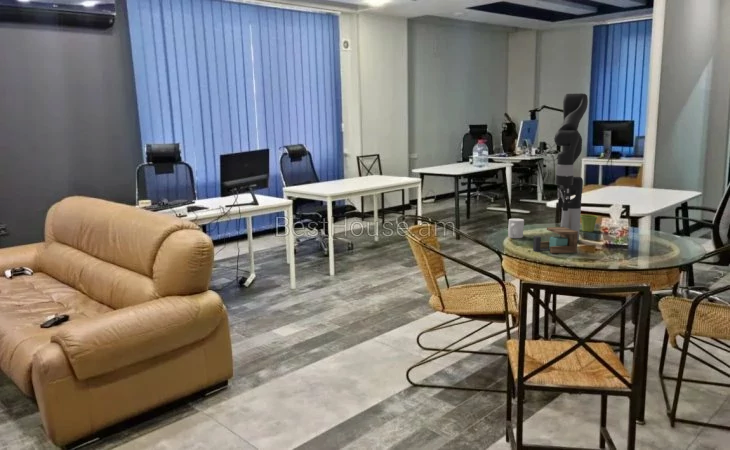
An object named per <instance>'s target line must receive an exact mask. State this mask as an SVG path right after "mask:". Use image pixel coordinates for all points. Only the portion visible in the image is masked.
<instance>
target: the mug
mask: <svg viewBox="0 0 730 450" xmlns="http://www.w3.org/2000/svg"><path fill="white" fill-rule="evenodd" d="M507 227H508V228H507V229H508V230H507V237H508V238H511V239H522V238H523V237H524V227H525V219H523V218H509V219H508V225H507Z"/></svg>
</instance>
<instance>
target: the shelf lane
mask: <svg viewBox="0 0 730 450" xmlns="http://www.w3.org/2000/svg"><path fill="white" fill-rule="evenodd" d="M546 231H549V232H552V233H554V234H557V235H559V236H562V237H564V238H567V239H568V244H567V246H550V250H549V253H550V254H566V253H577V252H578V241H577V237H578V231H575V230H572V229H569V228H566V227H560V226H553V227H550V226H549V227H546ZM549 243H550V240H547V241H541V246H540V249H549Z"/></svg>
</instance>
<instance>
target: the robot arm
mask: <svg viewBox="0 0 730 450" xmlns="http://www.w3.org/2000/svg"><path fill="white" fill-rule="evenodd" d="M588 102H589V98H588V95H587V94H586V93H580V92H579V93H566V94H565V95H564V97H563V102H562V103H563V105H562V109H563V110H562V111H563V113H562V114H563V122H562V125H561V127H560V128H559V129H557V131H556V132H555V134H554V139H553V141H554V144H556V145H557V146H559V147H561V148H562V149H561V151H559V152H558V153H557V164H556V170H555V185H556V186H557V189H556V190H557V191H556V198H557V201H558V202H557V209H561V220H560V225H559V227H566V228H569V229H572V230H575V231H578V237H577V242H579V241H580V232H581V231H580V230H581V229H580V227H581V217H580V215H582V214H581V212H582V211H581V210H582V194H583V188H584V187H583V186H584V180H583V178H582V177H580V176H574V172H575V171H574V170H575V168H574V167H575V166H574V164H575V162H576V161H577V159H578V158H579V157H580V155H581V154H582V150H583V149H582V148H583V138H582V136H581V133H580V132H579V130H578V129H579V125H580V122H581V120H582V118H583V117H584V116H585V115H584V114H585V113H586V111H587V108H588V104H589V103H588ZM571 195H572V196H574V197H573V198H572V196H571Z"/></svg>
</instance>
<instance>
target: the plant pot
mask: <svg viewBox="0 0 730 450" xmlns="http://www.w3.org/2000/svg"><path fill="white" fill-rule="evenodd" d="M598 218H599V216H598V215H592V214H581V215H580V222H581V230H582V232H588V233H594V231H595V227H596V222H597V220H598Z"/></svg>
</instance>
